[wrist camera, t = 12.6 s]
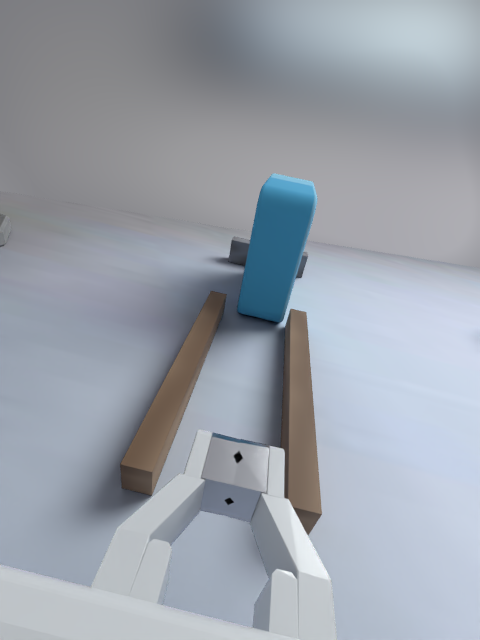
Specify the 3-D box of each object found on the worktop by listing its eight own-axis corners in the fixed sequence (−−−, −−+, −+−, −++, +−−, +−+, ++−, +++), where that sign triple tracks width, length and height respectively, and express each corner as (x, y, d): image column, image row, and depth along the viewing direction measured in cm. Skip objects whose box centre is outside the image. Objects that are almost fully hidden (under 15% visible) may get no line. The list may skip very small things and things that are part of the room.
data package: (251, 272, 39) (272, 171, 33) (285, 280, 39) (313, 180, 33) (234, 318, 29) (260, 186, 23) (280, 329, 29) (319, 199, 23)
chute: (113, 486, 15) (110, 448, 13) (230, 257, 42) (233, 236, 41) (316, 536, 14) (338, 504, 13) (301, 273, 42) (307, 252, 40)
